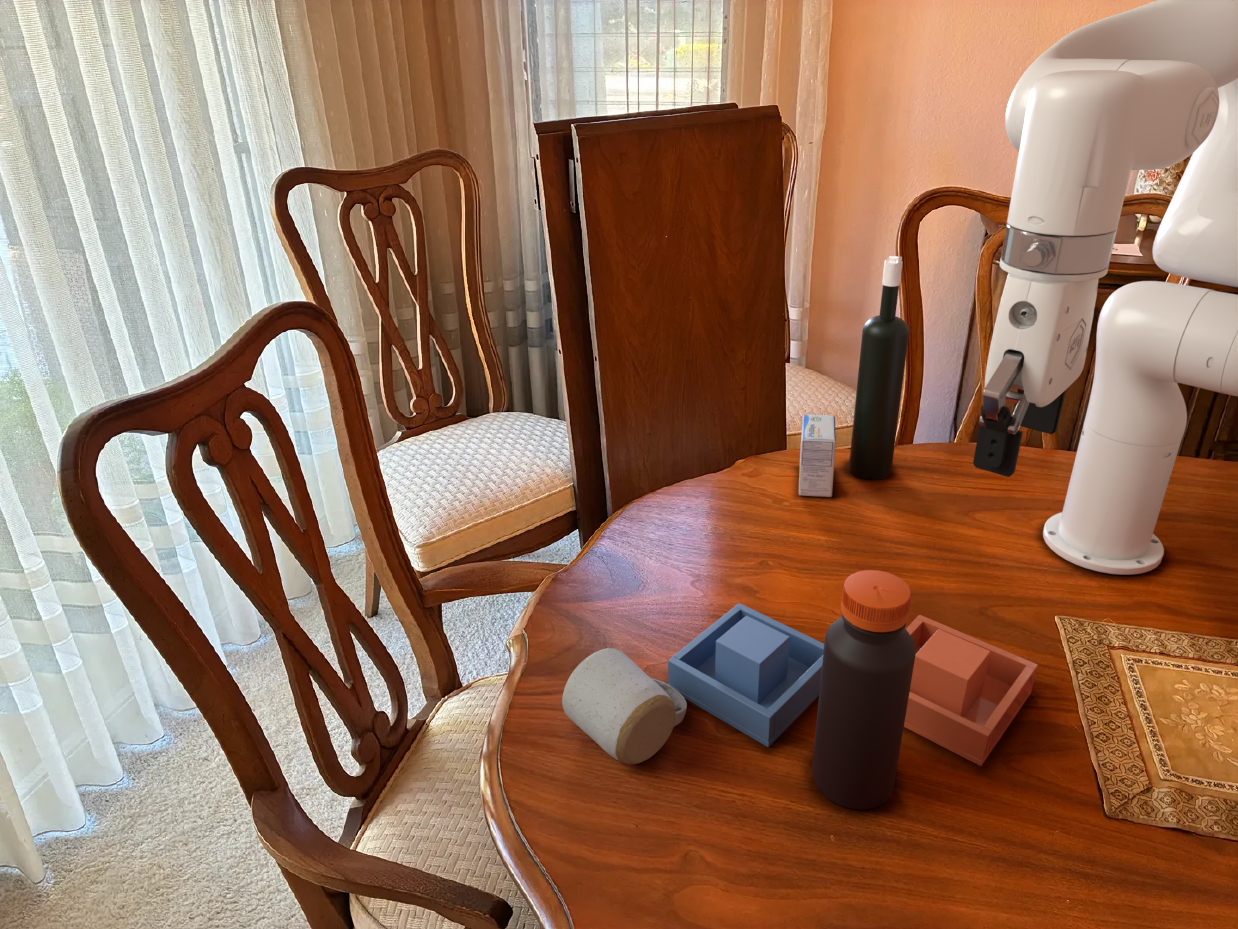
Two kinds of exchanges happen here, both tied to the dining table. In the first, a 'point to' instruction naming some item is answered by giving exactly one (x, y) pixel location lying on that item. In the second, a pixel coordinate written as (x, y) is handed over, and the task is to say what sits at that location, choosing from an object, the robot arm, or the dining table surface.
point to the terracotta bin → (988, 713)
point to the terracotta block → (950, 672)
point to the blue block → (752, 659)
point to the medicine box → (817, 455)
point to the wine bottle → (879, 383)
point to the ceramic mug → (622, 706)
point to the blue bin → (759, 721)
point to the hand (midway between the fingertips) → (1015, 449)
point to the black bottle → (864, 691)
